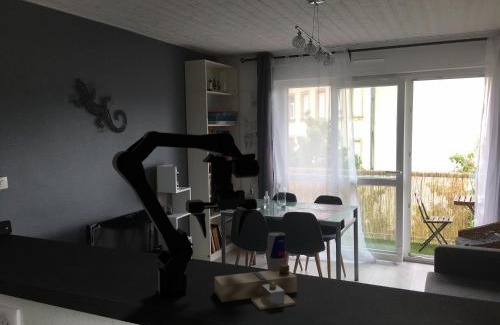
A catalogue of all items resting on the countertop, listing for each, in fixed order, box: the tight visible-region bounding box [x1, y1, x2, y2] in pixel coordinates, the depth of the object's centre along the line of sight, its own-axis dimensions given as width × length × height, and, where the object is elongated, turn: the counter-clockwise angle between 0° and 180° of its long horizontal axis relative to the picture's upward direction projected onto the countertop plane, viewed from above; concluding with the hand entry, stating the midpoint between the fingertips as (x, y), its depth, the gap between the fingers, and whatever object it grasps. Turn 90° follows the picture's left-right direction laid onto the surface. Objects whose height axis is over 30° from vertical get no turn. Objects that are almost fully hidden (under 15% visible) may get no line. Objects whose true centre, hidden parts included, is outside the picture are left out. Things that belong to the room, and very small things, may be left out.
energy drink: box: [267, 231, 287, 271], centre depth 119 cm, size 5×5×12 cm
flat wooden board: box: [250, 293, 296, 311], centre depth 99 cm, size 9×6×1 cm, turn 109°
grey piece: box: [262, 282, 284, 305], centre depth 98 cm, size 4×6×4 cm, turn 19°
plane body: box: [214, 263, 298, 303], centre depth 105 cm, size 20×7×6 cm, turn 109°
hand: (221, 236), depth 111 cm, fingers open, 9 cm apart
